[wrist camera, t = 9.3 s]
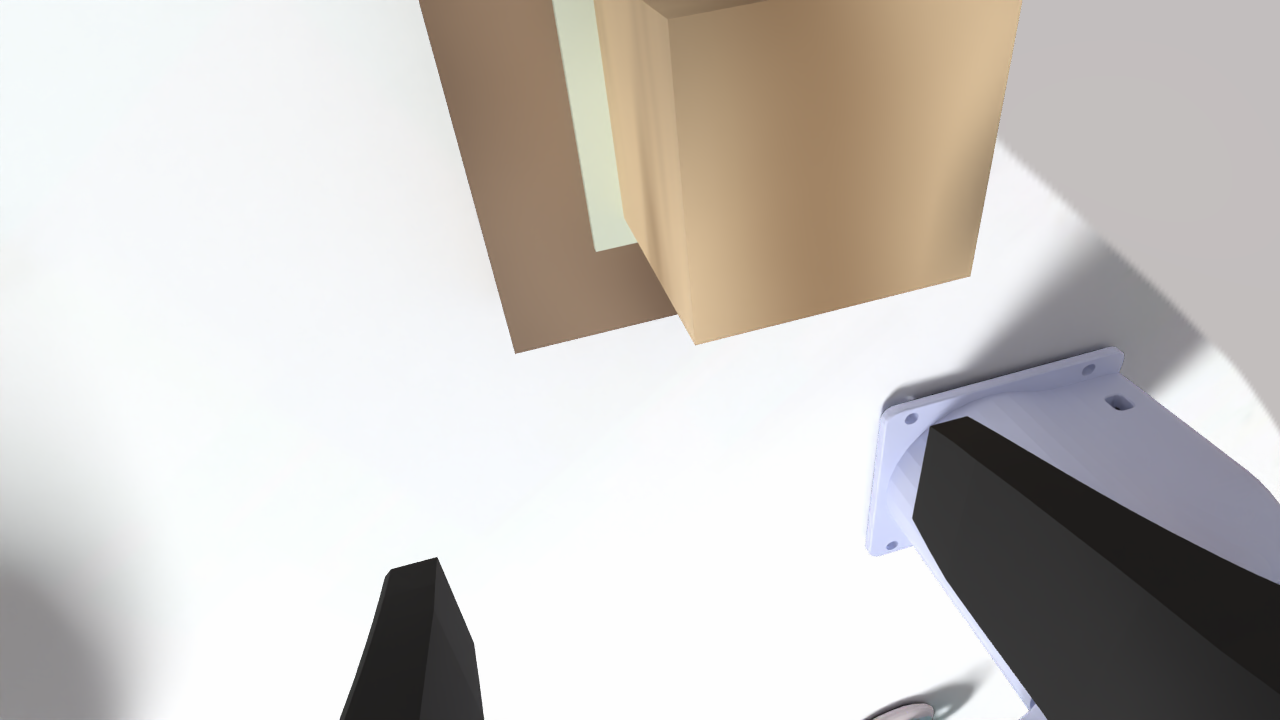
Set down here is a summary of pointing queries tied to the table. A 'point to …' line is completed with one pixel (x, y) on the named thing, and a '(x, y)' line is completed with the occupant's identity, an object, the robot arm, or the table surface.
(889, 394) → the table surface
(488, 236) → the walnut base
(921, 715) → the pacifier
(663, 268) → the oak cube
